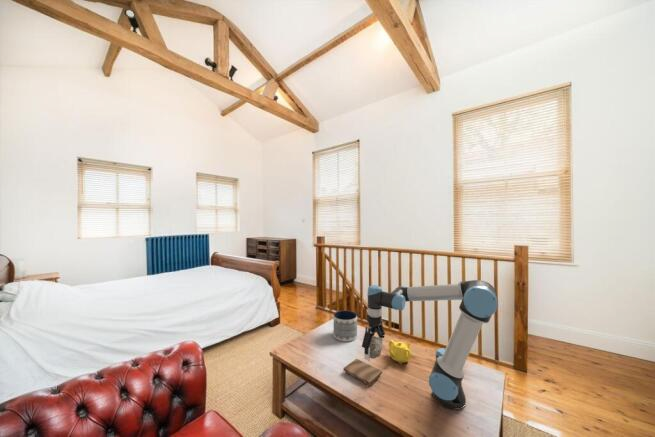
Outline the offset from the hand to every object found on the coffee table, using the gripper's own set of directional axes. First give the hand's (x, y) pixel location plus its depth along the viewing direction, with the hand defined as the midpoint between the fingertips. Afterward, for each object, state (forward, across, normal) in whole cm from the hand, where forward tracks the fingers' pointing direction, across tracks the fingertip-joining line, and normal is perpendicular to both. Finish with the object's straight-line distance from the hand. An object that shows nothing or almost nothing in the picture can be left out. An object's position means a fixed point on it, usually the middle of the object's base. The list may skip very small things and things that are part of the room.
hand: (373, 354), depth 129 cm
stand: (+17, -4, -9) cm, 20 cm away
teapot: (+17, -33, 0) cm, 37 cm away
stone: (+2, 0, 0) cm, 2 cm away
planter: (+18, -34, -45) cm, 59 cm away
